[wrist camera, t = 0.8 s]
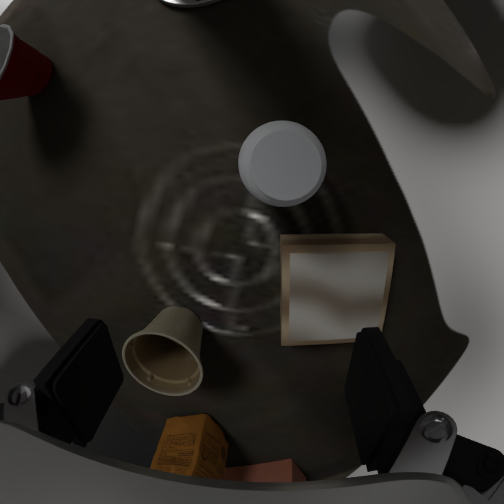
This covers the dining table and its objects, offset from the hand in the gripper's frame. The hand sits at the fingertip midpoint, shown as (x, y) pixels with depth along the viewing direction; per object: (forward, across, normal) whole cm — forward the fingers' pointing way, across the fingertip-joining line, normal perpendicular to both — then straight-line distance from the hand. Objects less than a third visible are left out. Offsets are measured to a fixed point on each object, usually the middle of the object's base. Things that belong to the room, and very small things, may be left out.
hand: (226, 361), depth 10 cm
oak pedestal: (+23, -9, +8) cm, 26 cm away
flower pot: (+23, +10, +14) cm, 29 cm away
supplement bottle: (+24, -2, -6) cm, 24 cm away
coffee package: (+23, +10, +38) cm, 46 cm away
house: (+23, 0, +56) cm, 61 cm away
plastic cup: (+24, +30, -22) cm, 44 cm away
